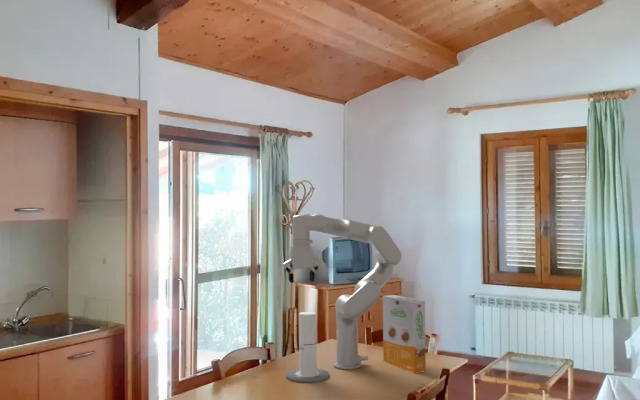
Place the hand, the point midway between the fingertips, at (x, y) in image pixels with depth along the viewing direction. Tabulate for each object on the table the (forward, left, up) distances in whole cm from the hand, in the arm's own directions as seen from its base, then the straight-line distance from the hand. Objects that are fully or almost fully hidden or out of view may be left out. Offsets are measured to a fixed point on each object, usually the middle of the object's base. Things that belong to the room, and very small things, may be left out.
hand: (301, 281), depth 244 cm
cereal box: (-43, +13, -38) cm, 59 cm away
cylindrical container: (+1, +11, -37) cm, 39 cm away
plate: (+2, +11, -38) cm, 40 cm away
